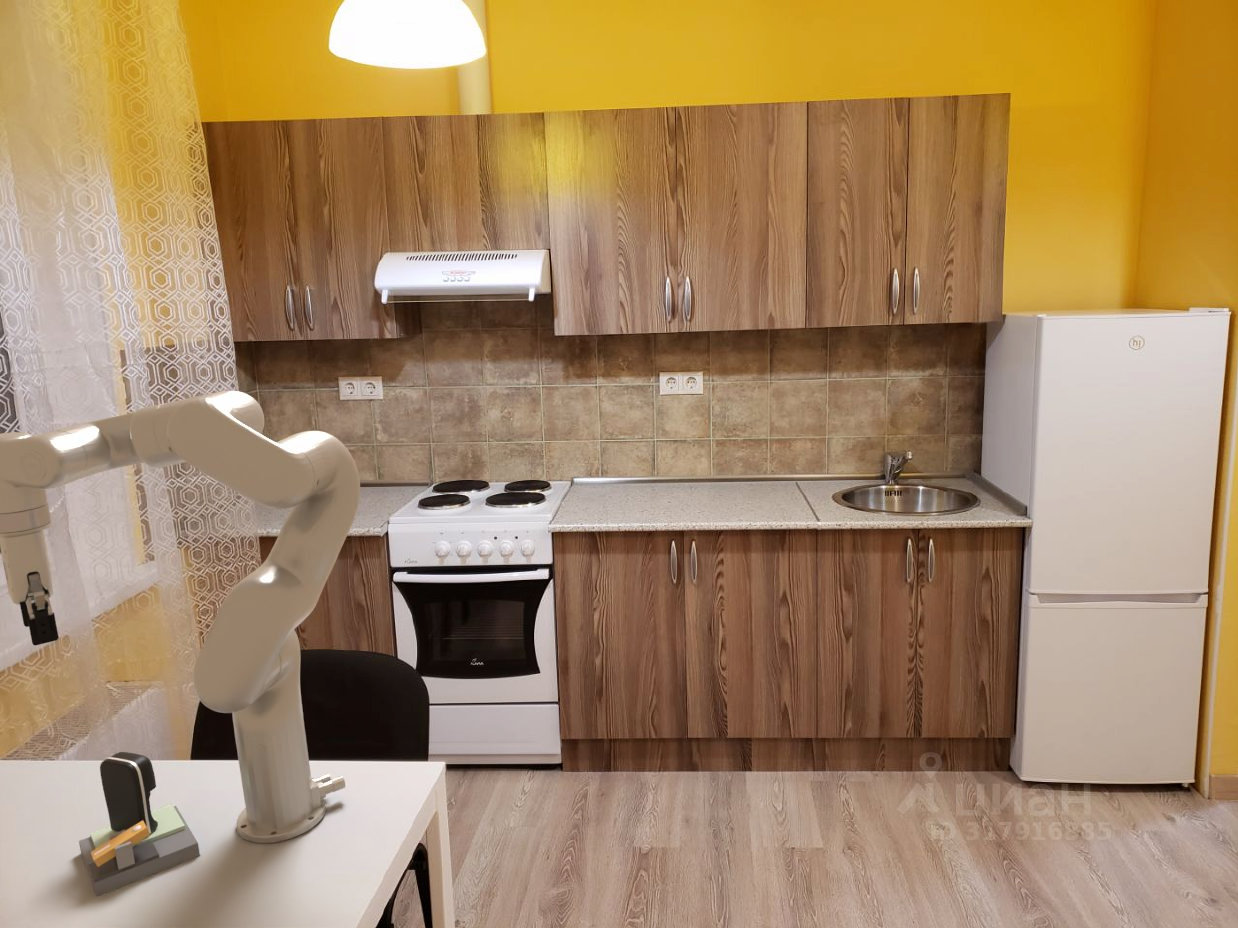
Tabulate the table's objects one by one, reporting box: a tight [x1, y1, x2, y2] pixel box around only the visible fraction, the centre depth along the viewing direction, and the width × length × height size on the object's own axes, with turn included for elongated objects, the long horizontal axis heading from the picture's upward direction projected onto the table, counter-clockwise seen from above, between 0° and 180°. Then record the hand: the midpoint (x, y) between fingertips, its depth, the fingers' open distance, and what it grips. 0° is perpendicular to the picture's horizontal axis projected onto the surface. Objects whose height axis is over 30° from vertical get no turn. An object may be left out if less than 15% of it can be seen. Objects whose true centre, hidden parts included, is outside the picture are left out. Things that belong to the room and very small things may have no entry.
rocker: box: [91, 820, 150, 867], centre depth 127 cm, size 7×2×1 cm, turn 127°
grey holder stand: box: [78, 803, 201, 897], centre depth 132 cm, size 13×12×6 cm
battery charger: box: [99, 751, 158, 833], centre depth 133 cm, size 7×4×11 cm, turn 69°
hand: (41, 632), depth 136 cm, fingers open, 9 cm apart
